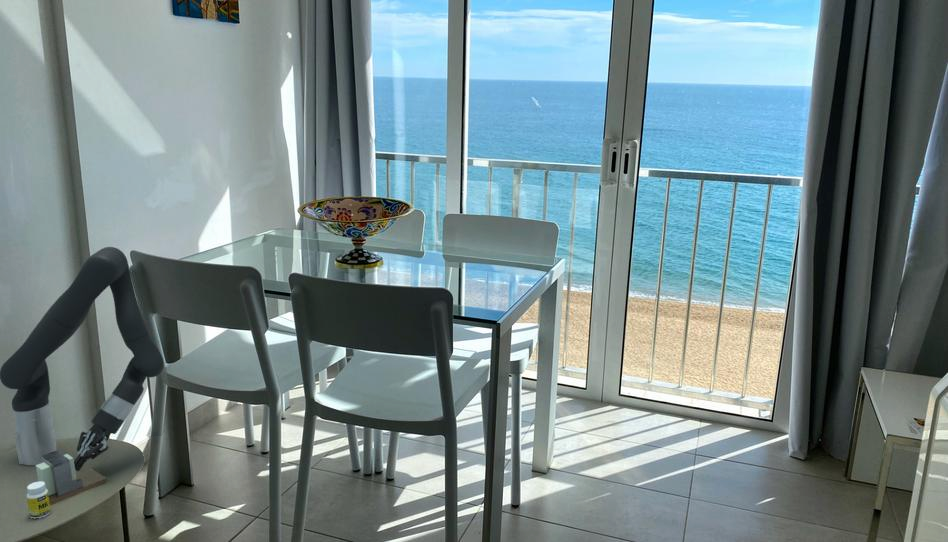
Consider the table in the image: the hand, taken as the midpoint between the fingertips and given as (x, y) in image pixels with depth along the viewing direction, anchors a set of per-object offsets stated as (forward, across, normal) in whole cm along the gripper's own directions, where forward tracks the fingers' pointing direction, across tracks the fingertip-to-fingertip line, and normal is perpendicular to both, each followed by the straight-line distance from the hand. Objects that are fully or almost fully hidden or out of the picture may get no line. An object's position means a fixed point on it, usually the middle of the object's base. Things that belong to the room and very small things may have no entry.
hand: (74, 469), depth 196 cm
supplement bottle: (+12, +7, -5) cm, 15 cm away
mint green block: (+6, 0, -1) cm, 6 cm away
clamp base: (+5, 0, +2) cm, 5 cm away
